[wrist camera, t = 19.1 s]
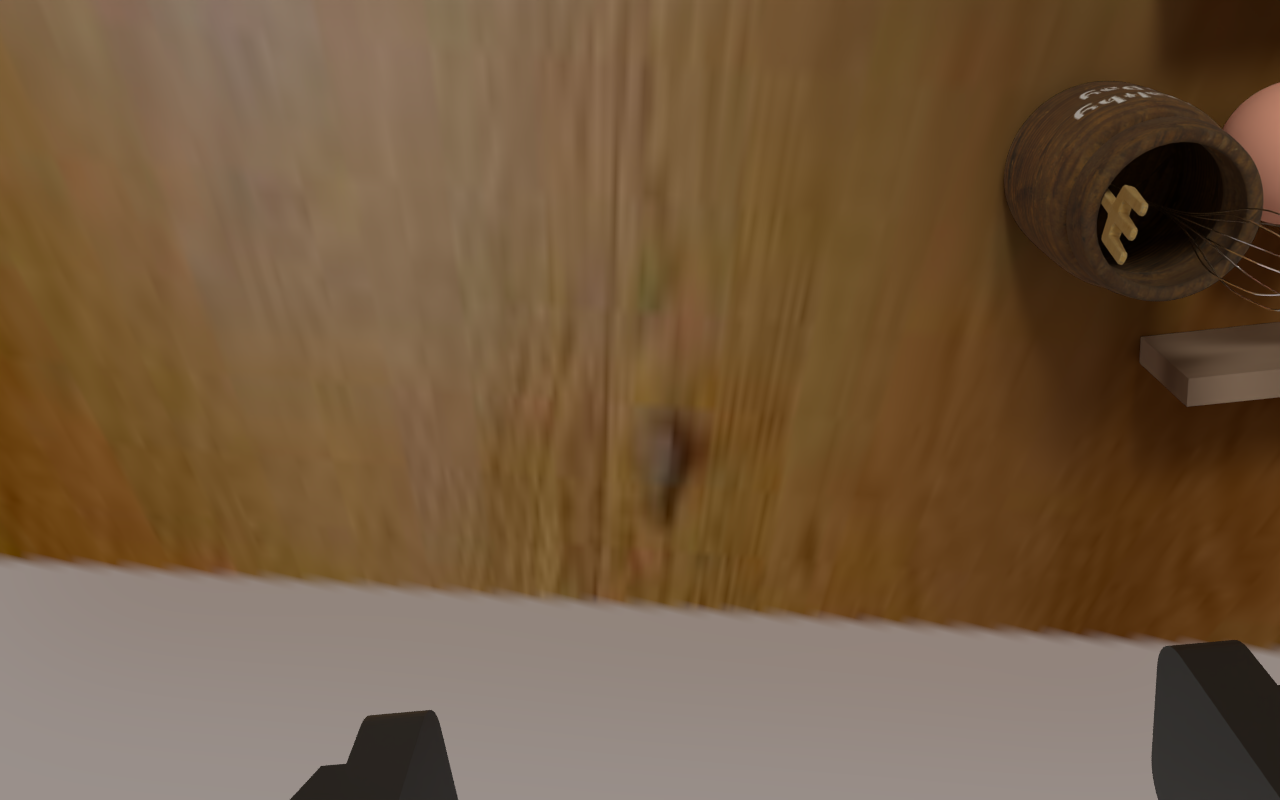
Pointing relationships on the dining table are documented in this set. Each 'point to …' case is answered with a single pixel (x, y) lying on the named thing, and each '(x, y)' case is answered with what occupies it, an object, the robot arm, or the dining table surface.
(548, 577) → the dining table surface
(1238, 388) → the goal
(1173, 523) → the dining table surface
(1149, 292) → the utensil holder
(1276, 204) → the ball
